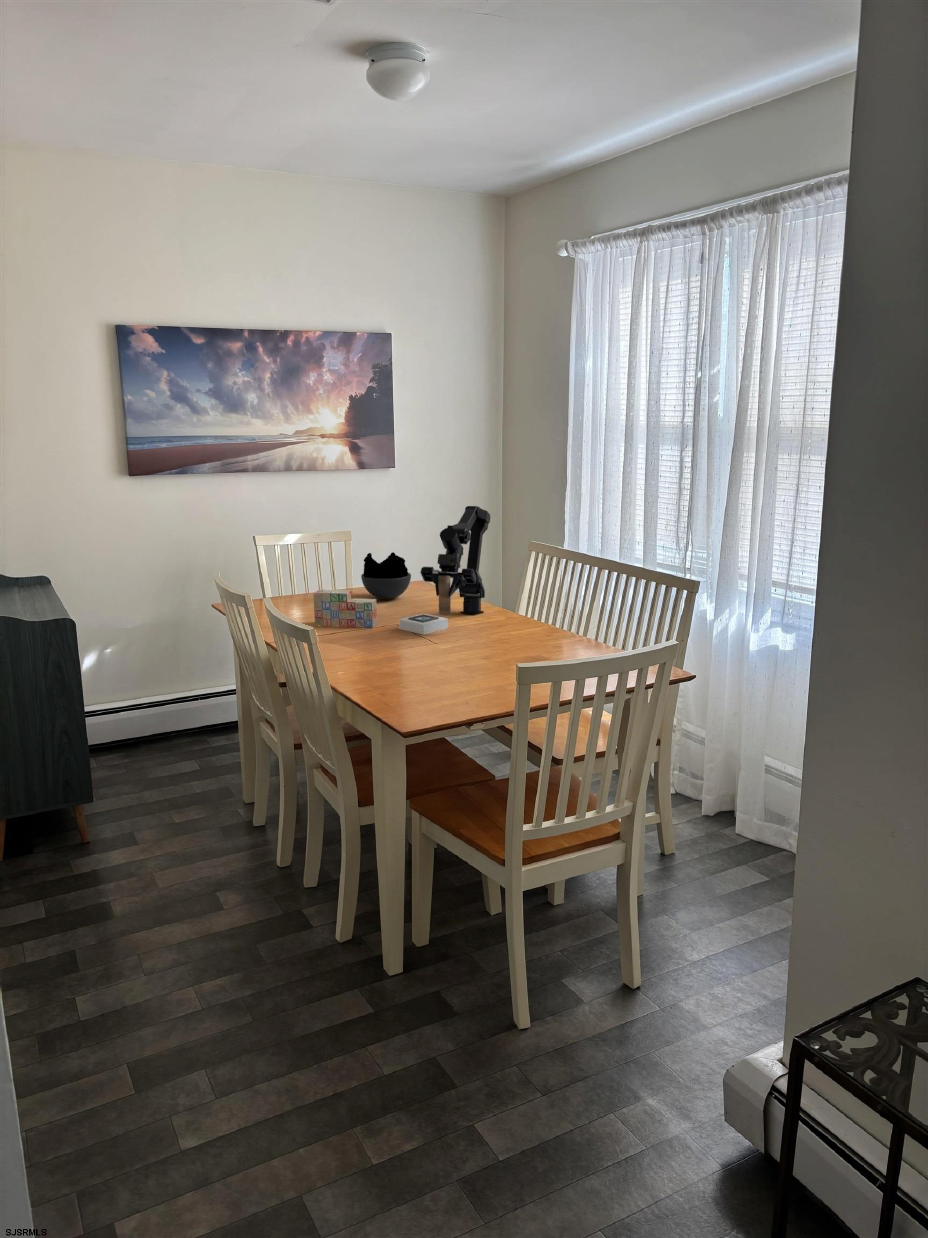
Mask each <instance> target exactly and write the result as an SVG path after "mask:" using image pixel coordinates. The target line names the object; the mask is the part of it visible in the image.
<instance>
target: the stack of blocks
mask: <svg viewBox="0 0 928 1238" xmlns="http://www.w3.org/2000/svg"><path fill="white" fill-rule="evenodd" d="M313 609H314V626H315V625H316V626H315V627H331V626H333V627H334V628H335V627H336V628H337V627H338V628H367V629H369V628H370V629H372V628H374V627H375V626H377V623H378V620H377V615H378V613H377V598H352V589H317V590H316V591H314V592H313ZM318 625H320V626H318ZM333 627H332V628H333Z"/></svg>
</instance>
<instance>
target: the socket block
mask: <svg viewBox="0 0 928 1238" xmlns="http://www.w3.org/2000/svg"><path fill="white" fill-rule="evenodd" d="M448 619H449V618H447V617H442V616H437V615H432V614H427V613H421V614H417V615H411V616H407V617H404V618H399V619H398V620H399V621H398V623H399V624H398V625H399V626H398V628H399V630H401V631H402V630H403V631H406V632H411V633H415V634H420V635H427V634H431V633H434V632H435V633H436V632H439V631H443V630H446V629H448V628H449V625H448V624H449V620H448Z"/></svg>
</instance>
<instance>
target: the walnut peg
mask: <svg viewBox="0 0 928 1238" xmlns="http://www.w3.org/2000/svg"><path fill="white" fill-rule="evenodd" d="M438 578H439V595H438V615H440V616H450V615H451V613H452V612H451V606H452V605H451V601H452V599H451V597H452V596H451V597H449V590H450V587H451V578H450V576H448V575H442V576H438Z"/></svg>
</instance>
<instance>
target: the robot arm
mask: <svg viewBox="0 0 928 1238" xmlns="http://www.w3.org/2000/svg"><path fill="white" fill-rule="evenodd" d="M490 522H491V514H490V513H489V511H488V510H486V509H483V508H481V507H480V506H477V505H468V506H465V508H464V512H463V514H462V515H461V517H460V519H459V520H458V522H457V523H456V524H453V525H450V524H449V525H447V526H446V528H444V529H442V530H441V531H440V533H439V537H440V540H441V543H442V545H443V548H444V549H445V550H446V551H445V553H444V554H443V553H439V554H438V557H437V564H438V565H439V566H438V567H439V569H434V567H433V566H422V567H421V569H420V572H419V573H420V575H421V578H422V580H423V581H424V582H427V583H433V584H434V587H435V593H436V597H439V578H438V576H442V575H448V576H450V579H452V581H451V583H450V590H449V597H452V596H453V595H454V594H455V592H456V591H457V590H458V593H459V598H463V603H462V609H463V610H462V611H460V614H465V615H470V616H476V615H478V614H482V613H484V612H485V611H484V610H482V608H481V607H482V599H484V598H485V597H486V589H485V587H484V584H483V580H482V577H481V574H480V571H479V570H480V564H481V563H480V561H481V554H482V553H481V552H482V543H483V537H484V534H485V533H486V532H487V530H488V528H489V525H490ZM468 543H469V546H468V553H467V554H468V555H467V562H466V568H462V569H461V567H462V566H461V561H462V557H463V556H464V546H463V545H468ZM459 569H461V572H460V571H459Z"/></svg>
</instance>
